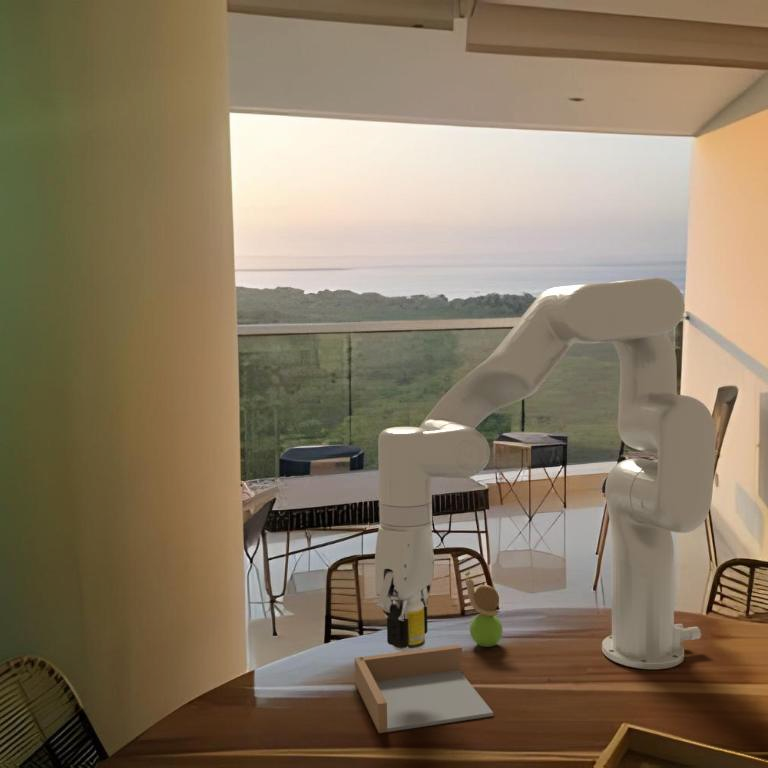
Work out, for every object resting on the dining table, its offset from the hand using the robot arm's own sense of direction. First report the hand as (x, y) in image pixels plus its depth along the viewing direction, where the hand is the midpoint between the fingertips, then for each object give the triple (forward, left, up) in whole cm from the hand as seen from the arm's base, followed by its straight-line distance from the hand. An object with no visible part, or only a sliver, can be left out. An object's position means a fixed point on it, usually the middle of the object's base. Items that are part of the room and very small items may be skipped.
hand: (407, 637), depth 114 cm
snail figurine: (-17, -15, -9) cm, 24 cm away
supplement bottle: (0, 0, -2) cm, 2 cm away
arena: (-2, +1, -9) cm, 9 cm away
